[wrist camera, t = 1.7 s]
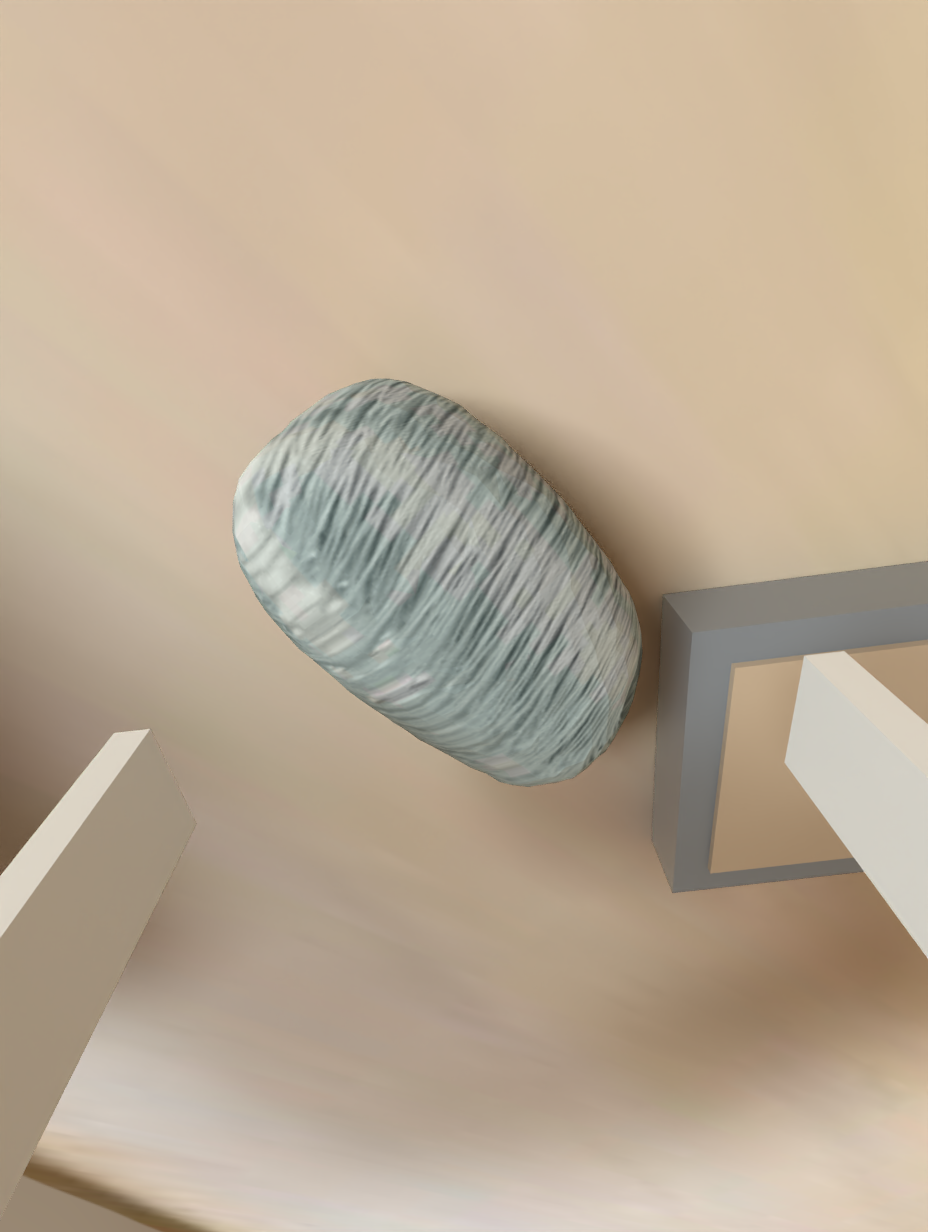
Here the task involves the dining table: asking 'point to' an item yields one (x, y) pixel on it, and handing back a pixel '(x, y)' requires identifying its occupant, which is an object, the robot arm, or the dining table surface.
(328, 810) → the dining table surface
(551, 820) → the dining table surface
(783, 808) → the stand
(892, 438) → the dining table surface
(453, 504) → the grey streaked ellipsoid
